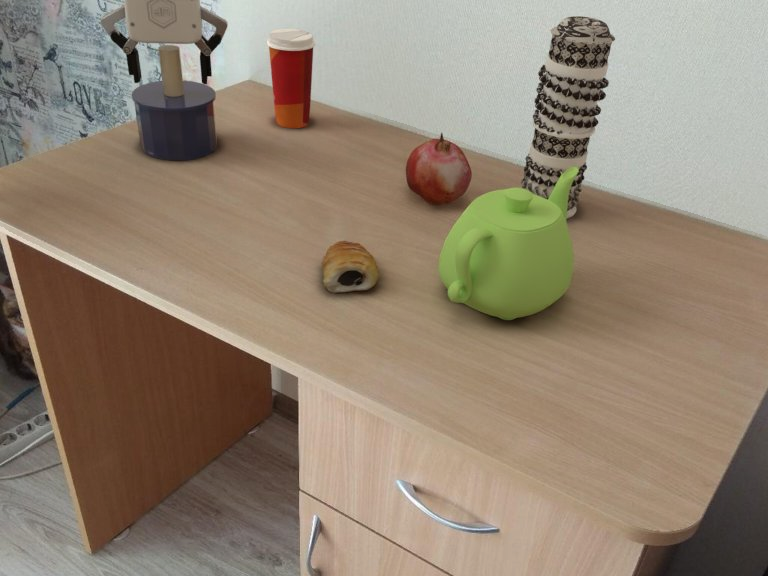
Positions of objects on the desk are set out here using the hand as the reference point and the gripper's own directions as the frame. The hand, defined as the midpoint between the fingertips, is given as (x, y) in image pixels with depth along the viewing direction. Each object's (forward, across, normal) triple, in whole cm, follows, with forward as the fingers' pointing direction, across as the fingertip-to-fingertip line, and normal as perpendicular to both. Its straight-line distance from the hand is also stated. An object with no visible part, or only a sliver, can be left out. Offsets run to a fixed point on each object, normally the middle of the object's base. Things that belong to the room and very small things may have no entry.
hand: (171, 80), depth 115 cm
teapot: (+10, +41, -44) cm, 61 cm away
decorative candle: (+10, +53, -22) cm, 58 cm away
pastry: (+10, +22, -40) cm, 47 cm away
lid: (+2, 0, 0) cm, 2 cm away
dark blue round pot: (+10, 0, 0) cm, 10 cm away
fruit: (+10, +37, -19) cm, 43 cm away
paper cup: (+10, +18, +10) cm, 23 cm away
